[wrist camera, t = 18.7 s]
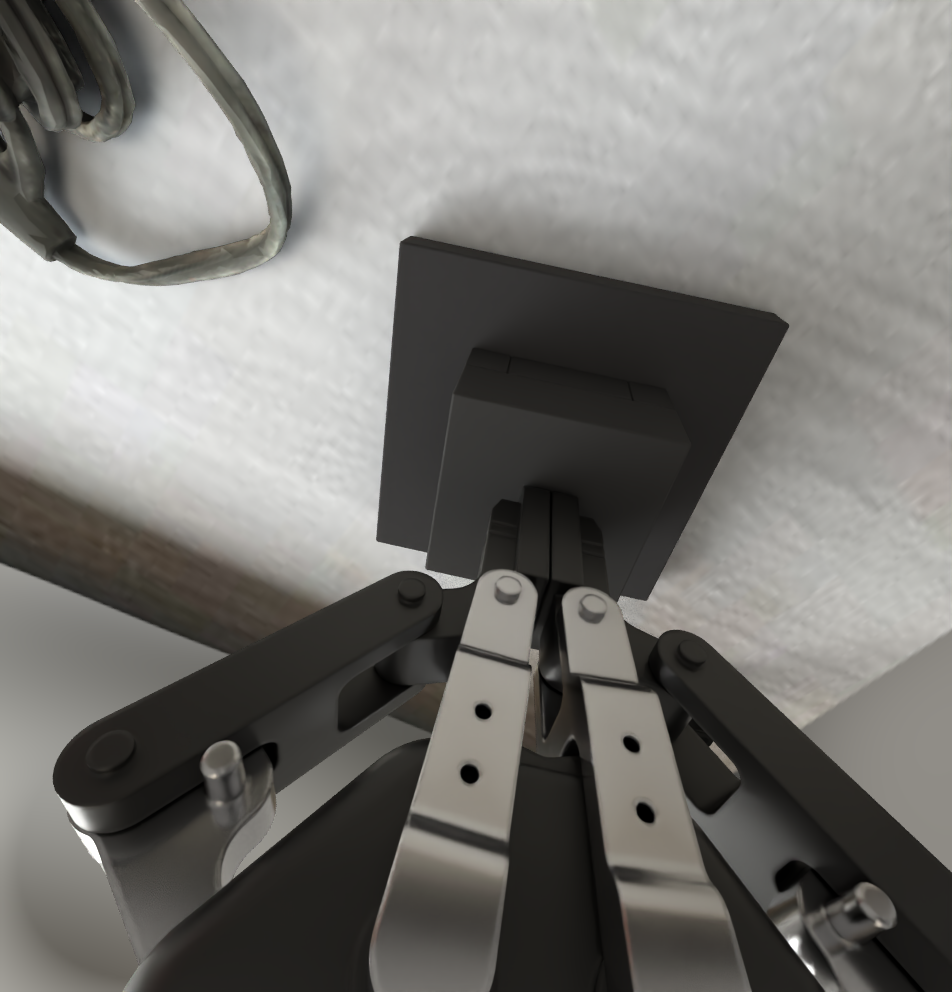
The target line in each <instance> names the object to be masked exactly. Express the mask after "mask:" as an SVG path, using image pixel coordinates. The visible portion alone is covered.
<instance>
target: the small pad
mask: <svg viewBox="0 0 952 992" xmlns="http://www.w3.org/2000/svg"><path fill="white" fill-rule="evenodd" d="M510 358H511V359H510ZM690 447H691V443H690V441H689V438H688V436H687V434H686V432H685V430H684V427H683V425H682V423H681V421H680V419H679V417H678V414H677V412H676V411H675V407H674V405H673V403H672V401H671V399H670V396H669V394H668V392H667V390H666V389H663V388H658V387H653V386H649V385H644V384H639V383H635V382H630V381H629V382H628V383H627V382H626V381H624V380H619V379H615V378H610V377H605V376H601V375H596V374H591V373H587V372H582V371H578V370H573V369H568V368H564V367H559V366H554V365H550V364H545V363H541V362H536V361H531V360H527V359H522V358H517V357H511V356H510V355H505V354H501V353H496V352H492V351H487V350H482V349H478V348H472V350H471V352H470V355H469V357H468V359H467V361H466V364H465V367H464V369H463V371H462V373H461V376H460V378H459V380H458V383H457V385H456V387H455V389H454V392H453V394H452V400H451V407H450V413H449V419H448V426H447V432H446V438H445V445H444V451H443V458H442V464H441V470H440V477H439V483H438V489H437V496H436V502H435V509H434V515H433V521H432V528H431V534H430V540H429V547H428V553H427V559H426V566H425V568H426V569H427V570H431V571H435V572H440V573H444V574H449V575H453V576H458V577H462V578H467V579H471V580H476V579H477V578H478V573H479V567H480V562H481V556H482V551H483V546H484V542H485V538H486V534H487V530H488V525H489V521H490V517H491V513H492V509H493V507H494V506H495V505H496V504H497V503H498V502H499V501H500V500H501V499H505V500H510V501H514V502H519V500H520V496H521V492H522V489H523V486H524V485H525V486H530V487H534V488H539V489H544V490H548V491H550V493H551V491H553V492H558V493H563V494H567V495H572V496H576V497H578V502H579V516H584V517H588V518H593V519H594V521H595V522H596V524H597V525H598V527H599V528H600V530H601V531H602V536H603V544H604V545H603V548H604V552H605V557H604V558H605V560H606V568H607V577H608V585H609V593H610V597H611V598H613V599H614V600H615V601H616V603H617V602H618V599H619V597H620V595H621V593H622V591H623V589H624V587H625V585H626V583H627V580H628V578H629V576H630V574H631V572H632V570H633V568H634V566H635V563H636V561H637V559H638V557H639V555H640V553H641V551H642V549H643V547H644V544H645V542H646V540H647V538H648V536H649V534H650V532H651V530H652V528H653V525H654V523H655V521H656V519H657V517H658V515H659V513H660V511H661V508H662V506H663V504H664V502H665V500H666V498H667V496H668V494H669V492H670V489H671V487H672V485H673V483H674V481H675V479H676V477H677V475H678V473H679V470H680V468H681V466H682V464H683V462H684V460H685V458H686V456H687V453H688V451H689V449H690Z"/></svg>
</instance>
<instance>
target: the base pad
mask: <svg viewBox="0 0 952 992" xmlns="http://www.w3.org/2000/svg"><path fill="white" fill-rule="evenodd" d="M788 328H789V324H788V323H786V322H785V321H784V320H782V319H781V318H779V317H778V316H777V315H775V314H774V313H769V312H764V311H760V310H755V309H750V308H746V307H741V306H736V305H732V304H727V303H722V302H718V301H713V300H708V299H704V298H699V297H694V296H690V295H685V294H680V293H676V292H671V291H666V290H662V289H657V288H652V287H648V286H643V285H638V284H634V283H629V282H624V281H620V280H615V279H610V278H606V277H601V276H596V275H592V274H587V273H582V272H577V271H573V270H568V269H563V268H559V267H554V266H549V265H545V264H540V263H535V262H531V261H526V260H521V259H517V258H512V257H507V256H503V255H498V254H493V253H489V252H484V251H479V250H475V249H470V248H465V247H461V246H456V245H451V244H447V243H442V242H437V241H433V240H428V239H423V238H419V237H414V236H410V237H408V238H406V239H405V240H403V241H401V242H400V248H399V261H398V273H397V286H396V298H395V311H394V324H393V336H392V349H391V361H390V374H389V386H388V399H387V411H386V424H385V436H384V449H383V462H382V474H381V487H380V499H379V512H378V524H377V537H376V540H377V541H378V542H382V543H386V544H391V545H395V546H400V547H404V548H409V549H414V550H418V551H423V552H427V553H428V547H429V540H430V534H431V528H432V521H433V515H434V509H435V502H436V496H437V489H438V483H439V477H440V470H441V464H442V458H443V451H444V445H445V438H446V432H447V426H448V419H449V413H450V407H451V400H452V394H453V392H454V389H455V387H456V385H457V383H458V380H459V378H460V376H461V373H462V371H463V369H464V367H465V364H466V361H467V359H468V357H469V355H470V352H471V350H472V348H478V349H482V350H487V351H492V352H496V353H501V354H505V355H510V356H511V357H517V358H522V359H527V360H531V361H536V362H541V363H545V364H550V365H554V366H559V367H564V368H568V369H573V370H578V371H582V372H587V373H591V374H596V375H601V376H605V377H610V378H615V379H619V380H624V381H626V382H627V383H628V382H629V381H630V382H635V383H639V384H644V385H649V386H653V387H658V388H663V389H666V390H667V392H668V394H669V396H670V399H671V401H672V403H673V405H674V407H675V411H676V412H677V414H678V417H679V419H680V421H681V423H682V425H683V427H684V430H685V432H686V434H687V436H688V438H689V441H690V443H691V447H690V449H689V451H688V453H687V456H686V458H685V460H684V462H683V464H682V466H681V468H680V470H679V473H678V475H677V477H676V479H675V481H674V483H673V485H672V487H671V489H670V492H669V494H668V496H667V498H666V500H665V502H664V504H663V506H662V508H661V511H660V513H659V515H658V517H657V519H656V521H655V523H654V525H653V528H652V530H651V532H650V534H649V536H648V538H647V540H646V542H645V544H644V547H643V549H642V551H641V553H640V555H639V557H638V559H637V561H636V563H635V566H634V568H633V570H632V572H631V574H630V576H629V578H628V580H627V583H626V585H625V587H624V589H623V591H622V593H621V596H626V597H630V598H635V599H640V600H644V601H647V599H648V597H649V595H650V593H651V592H652V590H653V588H654V586H655V584H656V582H657V580H658V578H659V576H660V574H661V572H662V570H663V568H664V567H665V565H666V563H667V561H668V559H669V557H670V555H671V553H672V551H673V549H674V547H675V545H676V543H677V541H678V540H679V538H680V536H681V534H682V532H683V530H684V528H685V526H686V524H687V522H688V520H689V518H690V516H691V515H692V513H693V511H694V509H695V507H696V505H697V503H698V501H699V499H700V497H701V495H702V493H703V491H704V489H705V488H706V486H707V484H708V482H709V480H710V478H711V476H712V474H713V472H714V470H715V468H716V466H717V464H718V463H719V461H720V459H721V457H722V455H723V453H724V451H725V449H726V447H727V445H728V443H729V441H730V439H731V437H732V436H733V434H734V432H735V430H736V428H737V426H738V424H739V422H740V420H741V418H742V416H743V414H744V412H745V411H746V409H747V407H748V405H749V403H750V401H751V399H752V397H753V395H754V393H755V391H756V389H757V387H758V385H759V384H760V382H761V380H762V378H763V376H764V374H765V372H766V370H767V368H768V366H769V364H770V362H771V360H772V359H773V357H774V355H775V353H776V351H777V349H778V347H779V345H780V343H781V341H782V339H783V337H784V335H785V333H786V332H787V330H788ZM510 359H511V358H510Z"/></svg>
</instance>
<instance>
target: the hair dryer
mask: <svg viewBox="0 0 952 992" xmlns="http://www.w3.org/2000/svg"><path fill="white" fill-rule="evenodd" d="M134 1H135V2H136V3H137V4H138V5H139V6H140V7H141V8H142V9H143V11H144V12H145V13H146V14H147V15H148V16H149V17H150V19H151V20H152V21H153V22H154V23H155V25H156V26H157V27H158V28H159V29H160V31H161V32H162V33H163V34H164V35H165V37H166V38H167V39H168V40H169V41H170V43H171V44H172V45H173V46H174V48H175V49H176V50H177V51H178V52H179V54H180V55H181V56H182V57H183V59H184V60H185V61H186V62H187V63H188V65H189V66H190V67H191V69H192V70H193V71H194V73H195V74H196V75H197V77H198V78H199V79H200V81H201V82H202V83H203V85H204V86H205V87H206V89H207V90H208V91H209V93H210V94H211V95H212V97H213V98H214V99H215V101H216V102H217V104H218V105H219V106H220V108H221V109H222V111H223V112H224V114H225V115H226V117H227V118H228V120H229V121H230V123H231V124H232V126H233V128H234V130H235V133H236V136H237V137H238V138H239V140H240V141H241V142H242V144H243V145H244V148H245V150H246V153H247V155H248V158H249V160H250V162H251V164H252V166H253V168H254V170H255V172H256V173H257V175H258V178H259V180H260V183H261V185H262V186H263V190H264V193H265V197H266V200H267V205H268V211H269V215H270V224H269V225H268V226H267V228H266V229H264V230H263V231H262V232H261V233H260V234H257V235H254V236H252V237H251V238H249V239H245V240H242V241H238V242H235V243H231V244H227V245H224V246H219V247H215V248H210V249H205V250H199V251H193V252H191V253H187V254H184V255H179V256H174V257H170V258H167V259H163V260H158V261H153V262H149V263H145V264H141V265H138V266H133V267H128V266H120V265H117V264H114V263H111V262H108V261H105V260H102V259H100V258H98V257H96V256H93V255H91V254H89V253H88V252H86V251H85V250H83V249H82V248H81V247H79V246H78V245H76V244H75V242H76V238H77V237H76V235H75V234H74V233H73V232H72V231H71V229H70V228H69V227H68V225H67V224H66V223H65V222H64V220H63V219H62V218H61V217H60V216H59V215H58V213H57V212H56V211H55V210H54V209H53V207H52V206H51V205H50V204H49V203H48V201H47V200H46V199H45V198H44V177H45V168H44V165H43V163H42V160H41V158H40V155H39V152H38V150H37V147H36V144H35V141H34V139H33V136H32V133H31V130H30V128H29V126H28V124H27V122H26V120H25V119H24V117H23V115H22V113H21V111H20V110H19V108H18V106H19V105H20V104H21V103H22V104H23V105H24V106H25V107H26V108H27V110H28V111H29V112H30V113H31V115H32V116H33V117H34V119H35V120H36V121H37V122H39V123H40V124H41V125H42V126H43V127H44V128H45V129H46V130H49V131H54V132H60V131H62V130H63V131H66V132H70V133H73V134H76V135H78V136H79V137H81V138H82V139H85V140H89V141H92V142H105V141H107V140H109V139H111V138H114V137H118V136H120V135H121V134H122V133H123V132H124V131H126V130H127V128H128V127H129V125H130V123H131V122H132V116H133V111H134V108H135V106H136V104H135V101H134V98H133V94H132V90H131V86H130V82H129V79H128V76H127V74H126V71H125V68H124V66H123V63H122V61H121V58H120V55H119V53H118V50H117V48H116V45H115V42H114V40H113V38H112V36H111V35H110V33H109V31H108V30H107V28H106V26H105V25H104V23H103V21H102V20H101V18H100V16H99V15H98V13H97V11H96V10H95V8H94V6H93V5H92V3H91V2H90V0H55V2H56V3H57V5H58V7H59V8H60V10H61V11H62V13H63V14H64V16H65V17H66V19H67V20H68V22H69V23H70V25H71V26H72V28H73V30H74V32H75V34H76V37H77V39H78V41H79V43H80V46H81V48H82V50H83V52H84V55H85V57H86V59H87V61H88V63H89V66H90V68H91V70H92V72H93V75H94V77H95V79H96V81H97V83H98V86H99V89H100V93H101V97H102V102H101V108H100V112H99V113H98V114H97V115H95V117H94V116H91V115H89V114H87V113H85V112H83V111H82V110H81V108H80V106H79V102H78V98H77V94H76V91H78V90H80V89H81V88H83V87H85V84H84V81H83V77H82V75H81V73H80V71H79V68H78V66H77V64H76V62H75V60H74V58H73V56H72V54H71V52H70V50H69V48H68V46H67V45H66V43H65V41H64V39H63V37H62V35H61V33H60V32H59V30H58V28H57V27H56V25H55V23H54V21H53V20H52V18H51V16H50V15H49V13H48V11H47V10H46V8H45V6H44V5H43V3H42V1H41V0H0V128H1V131H2V133H3V135H4V138H5V140H6V142H7V144H6V143H5V141H4V140H3V138H2V137H1V135H0V223H1V224H2V225H3V226H5V227H6V228H7V229H8V230H9V231H10V232H12V233H13V234H14V235H15V236H16V237H18V238H19V239H20V240H21V241H22V242H24V243H25V244H26V245H27V246H28V247H30V248H31V249H32V250H33V251H35V252H36V253H37V254H38V255H40V256H41V257H42V258H43V259H44V260H46V261H49V262H52V261H56V260H58V261H60V262H62V263H64V264H65V265H67V266H68V267H69V268H71V269H73V270H75V271H78V272H80V273H82V274H85V275H89V276H92V277H96V278H99V279H103V280H108V281H114V282H124V283H129V284H137V285H149V286H166V285H179V284H185V283H190V282H196V281H202V280H212V279H217V278H222V277H227V276H231V275H236V274H240V273H242V272H245V271H247V270H249V269H252V268H255V267H257V266H260V265H262V264H263V263H265V262H267V261H268V260H270V259H272V258H273V257H274V256H275V255H276V254H277V253H279V252H280V250H281V248H282V246H283V244H284V242H285V239H286V237H287V231H288V230H289V228H290V224H291V218H292V200H291V185H290V182H289V178H288V175H287V171H286V168H285V165H284V161H283V158H282V156H281V154H280V151H279V149H278V147H277V144H276V142H275V140H274V138H273V135H272V133H271V131H270V128H269V126H268V124H267V121H266V119H265V117H264V115H263V113H262V111H261V109H260V107H259V106H258V104H257V102H256V100H255V99H254V97H253V95H252V94H251V92H250V90H249V89H248V87H247V85H246V83H245V82H244V80H243V79H242V78H241V76H240V75H239V74H238V72H237V71H236V70H235V68H234V67H233V66H232V64H231V63H230V62H229V60H228V59H227V58H226V57H225V55H224V54H223V53H222V51H221V50H220V49H219V47H218V46H217V45H216V43H215V42H214V41H213V39H212V38H211V37H210V35H209V34H208V33H207V31H206V30H205V29H204V28H203V26H202V25H201V24H200V23H199V21H198V20H197V19H196V18H195V16H194V15H193V14H192V13H191V11H190V10H189V9H188V8H187V6H186V5H185V4H184V3H183V2H182V0H134Z"/></svg>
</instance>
